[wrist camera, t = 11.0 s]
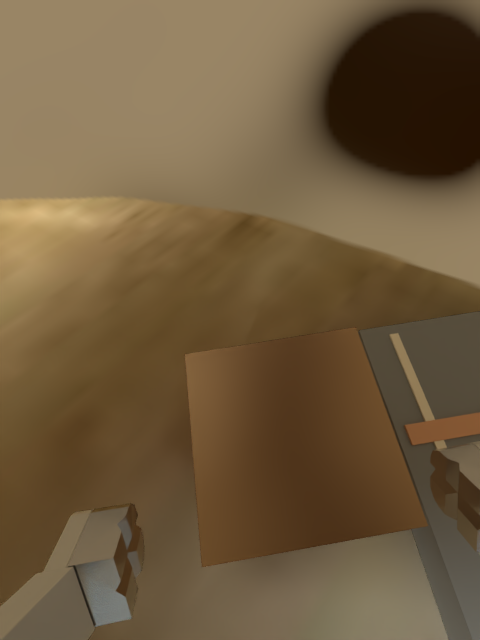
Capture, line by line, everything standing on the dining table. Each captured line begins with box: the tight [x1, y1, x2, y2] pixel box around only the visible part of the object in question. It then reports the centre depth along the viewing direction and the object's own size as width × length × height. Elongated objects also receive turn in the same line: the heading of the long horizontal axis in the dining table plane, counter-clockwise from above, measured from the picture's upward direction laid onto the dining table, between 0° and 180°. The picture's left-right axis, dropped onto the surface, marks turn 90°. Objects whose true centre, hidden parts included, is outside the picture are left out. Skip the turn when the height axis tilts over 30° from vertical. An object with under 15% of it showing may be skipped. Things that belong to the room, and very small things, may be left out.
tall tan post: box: [185, 327, 428, 567], centre depth 12 cm, size 5×5×8 cm
